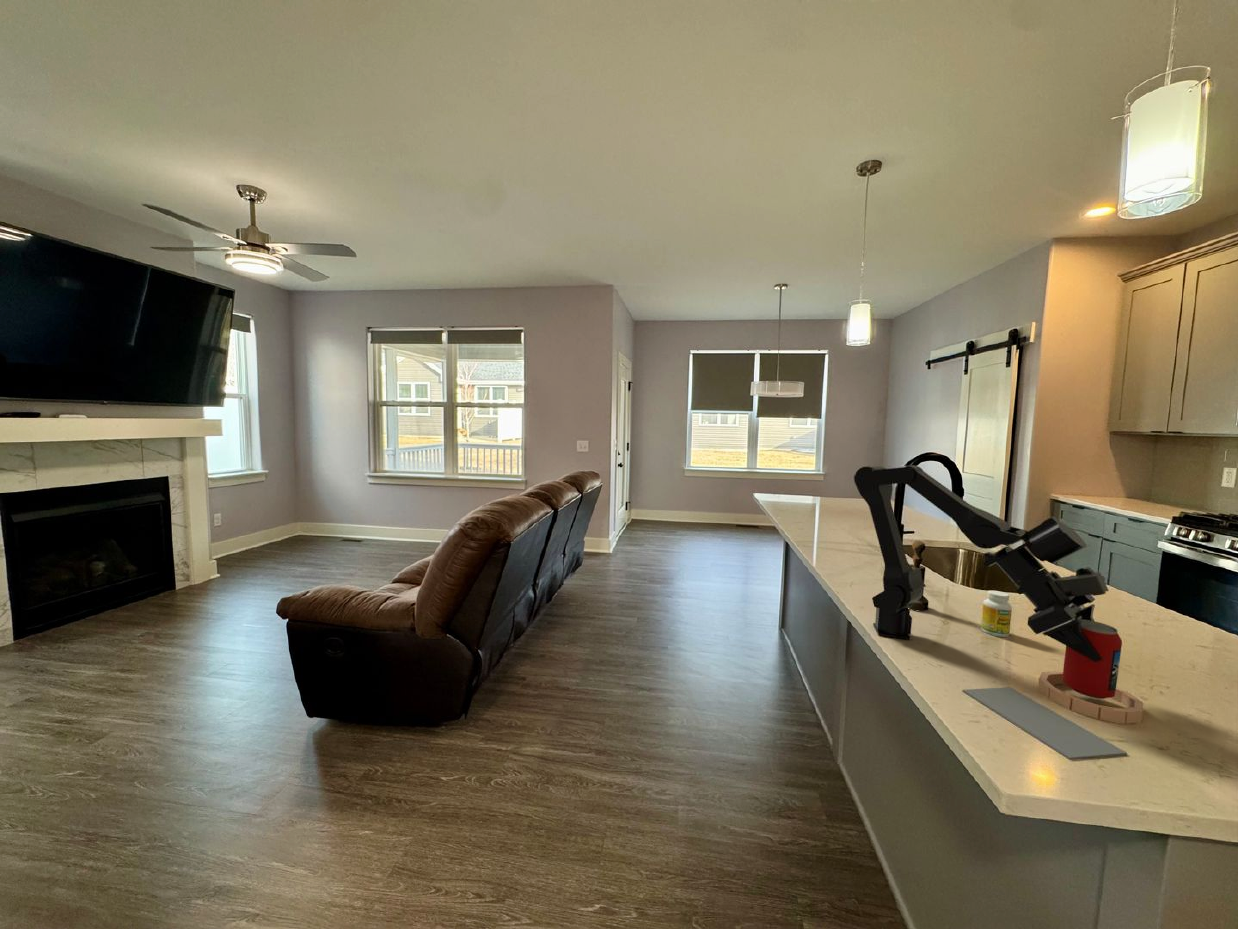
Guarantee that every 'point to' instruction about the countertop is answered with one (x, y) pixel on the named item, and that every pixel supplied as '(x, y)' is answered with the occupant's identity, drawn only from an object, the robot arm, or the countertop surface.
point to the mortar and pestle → (917, 559)
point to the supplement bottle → (996, 614)
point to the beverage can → (1090, 674)
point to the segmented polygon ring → (1090, 709)
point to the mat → (1044, 724)
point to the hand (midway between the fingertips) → (1103, 655)
